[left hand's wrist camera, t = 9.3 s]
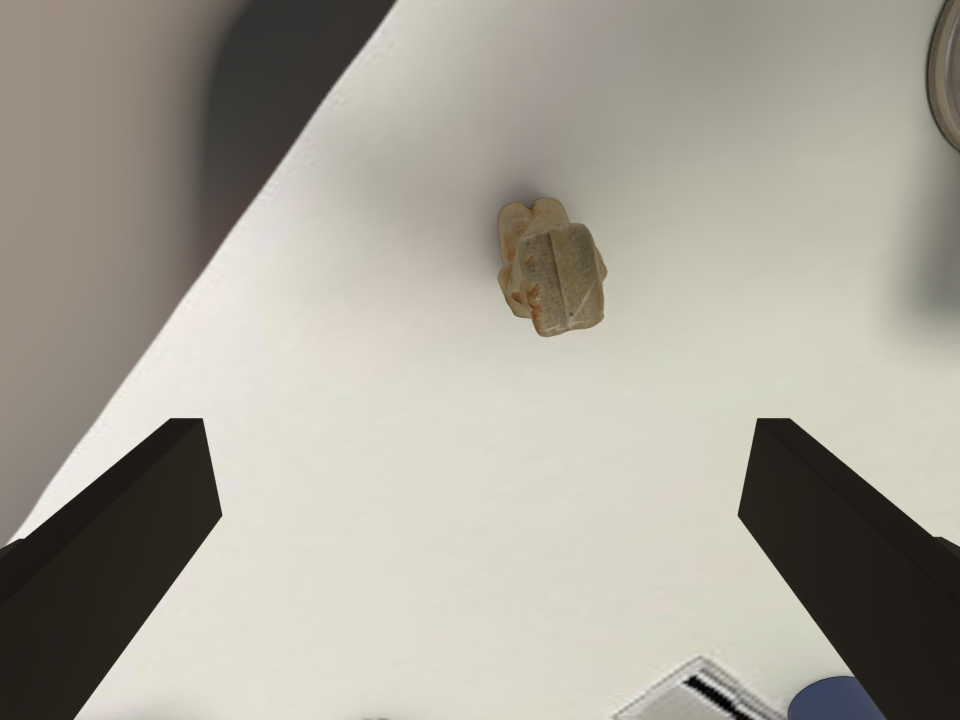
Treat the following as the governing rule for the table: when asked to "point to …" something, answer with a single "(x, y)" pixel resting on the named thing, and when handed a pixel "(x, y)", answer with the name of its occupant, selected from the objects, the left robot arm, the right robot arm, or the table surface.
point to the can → (834, 702)
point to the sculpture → (550, 268)
